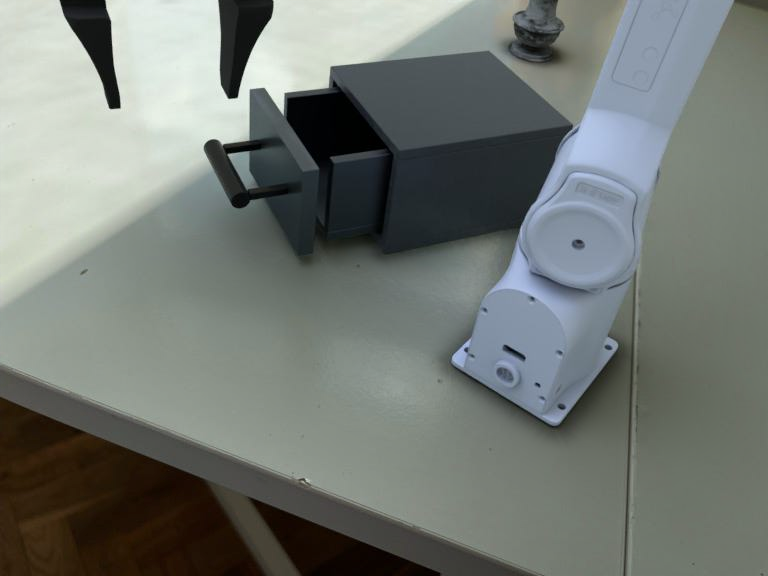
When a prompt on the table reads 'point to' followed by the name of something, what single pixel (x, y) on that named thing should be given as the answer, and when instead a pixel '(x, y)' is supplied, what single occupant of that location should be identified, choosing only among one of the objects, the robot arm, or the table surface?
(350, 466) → the table surface
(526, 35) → the ornate metal candlestick
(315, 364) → the table surface
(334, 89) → the drawer
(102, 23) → the robot arm
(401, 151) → the cabinet
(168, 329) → the table surface
